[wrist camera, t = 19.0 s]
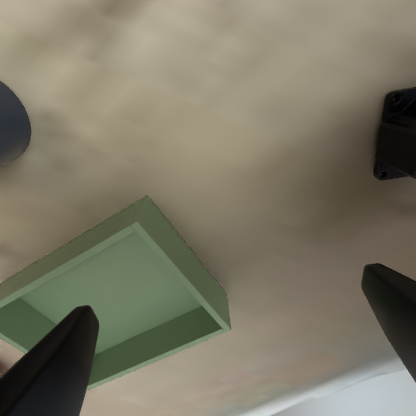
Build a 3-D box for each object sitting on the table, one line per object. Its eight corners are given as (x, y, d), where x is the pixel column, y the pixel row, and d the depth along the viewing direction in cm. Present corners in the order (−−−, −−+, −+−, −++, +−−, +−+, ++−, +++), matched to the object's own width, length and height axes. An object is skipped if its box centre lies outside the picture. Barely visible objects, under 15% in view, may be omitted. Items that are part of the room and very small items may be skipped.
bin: (147, 195, 21) (136, 221, 17) (227, 294, 26) (231, 329, 23) (1, 282, 25) (-32, 318, 21) (98, 353, 30) (84, 391, 27)
